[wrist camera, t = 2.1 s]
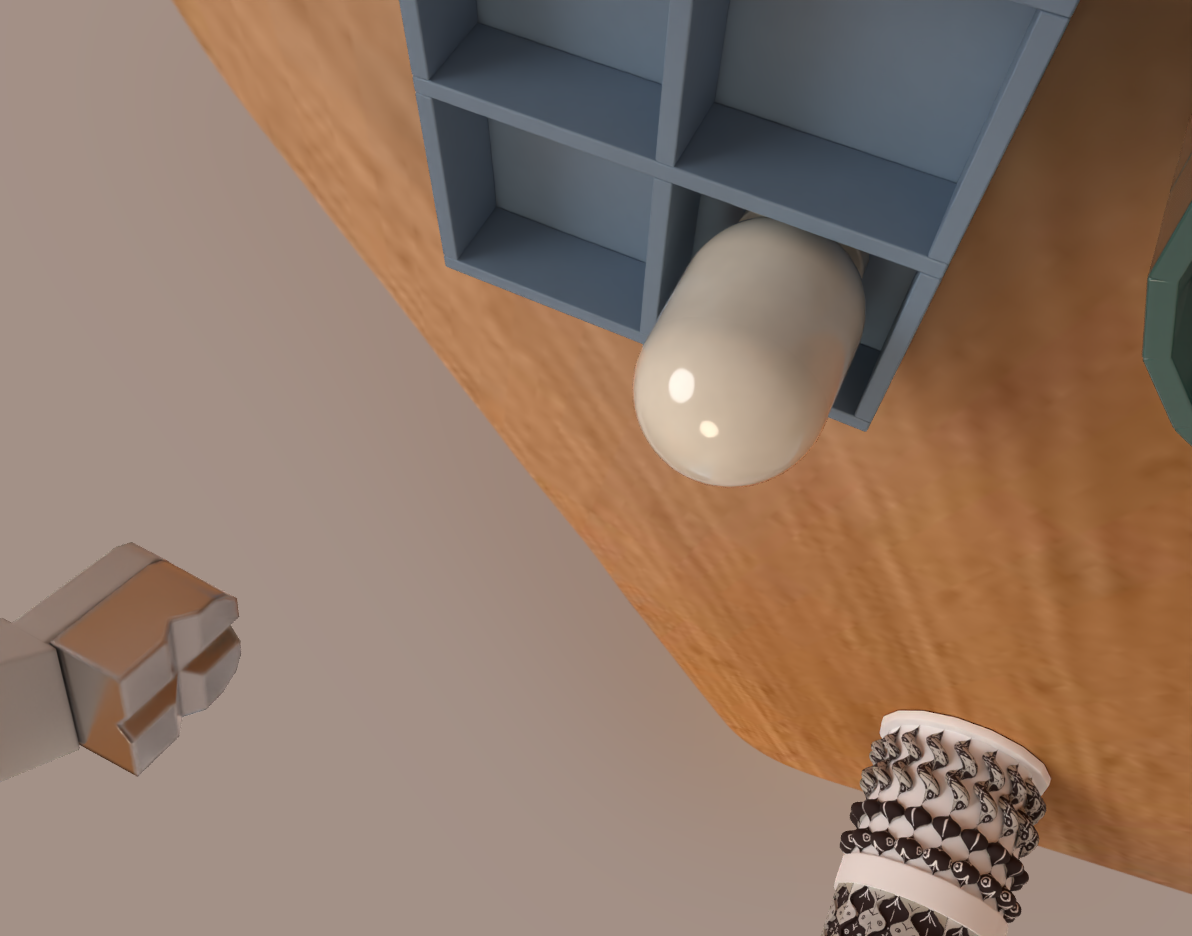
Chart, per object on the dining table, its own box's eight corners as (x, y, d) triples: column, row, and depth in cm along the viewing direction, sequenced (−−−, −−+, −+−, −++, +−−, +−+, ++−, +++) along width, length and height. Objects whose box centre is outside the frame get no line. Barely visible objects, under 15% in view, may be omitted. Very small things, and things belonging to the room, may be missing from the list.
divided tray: (440, -287, 20) (359, -217, 18) (1120, -107, 17) (1084, -9, 16) (492, 201, 31) (445, 267, 30) (897, 354, 29) (866, 433, 27)
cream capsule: (698, 170, 26) (570, 386, 22) (879, 168, 23) (764, 412, 20) (743, 302, 29) (637, 507, 26) (904, 313, 27) (810, 543, 23)
